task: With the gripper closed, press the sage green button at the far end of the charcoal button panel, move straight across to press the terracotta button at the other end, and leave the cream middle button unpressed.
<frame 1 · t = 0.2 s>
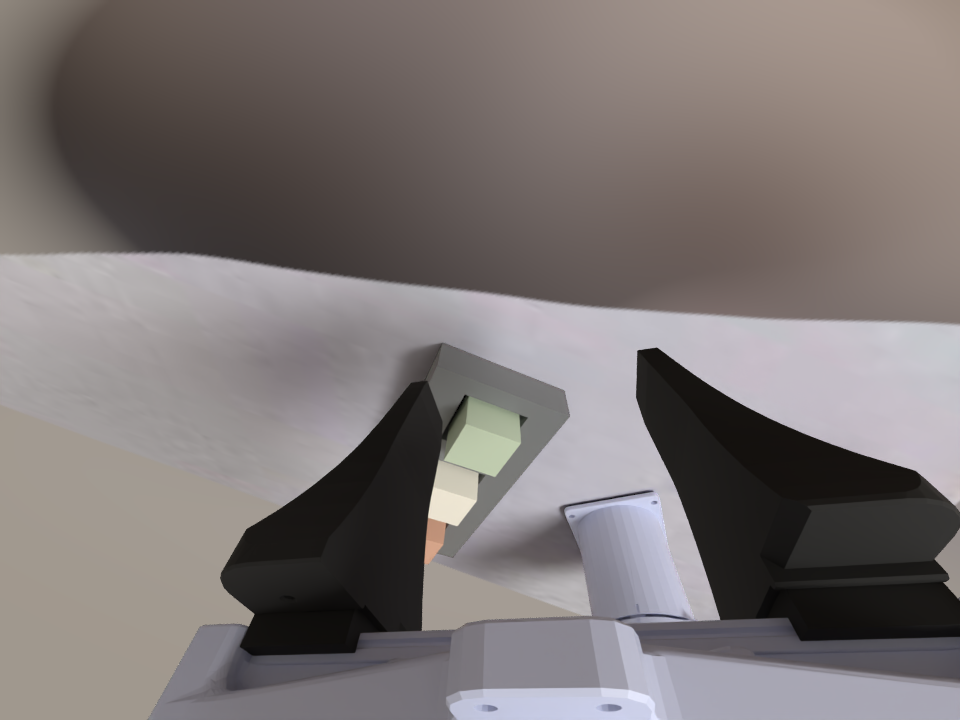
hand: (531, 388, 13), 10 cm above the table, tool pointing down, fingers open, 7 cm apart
cream button: (446, 488, 28), point 3 cm above the table, slide at 0.0 cm
terracotta button: (417, 531, 32), point 3 cm above the table, slide at 0.0 cm
button panel: (450, 457, 31), on the table
sage button: (482, 434, 25), point 3 cm above the table, slide at 0.0 cm
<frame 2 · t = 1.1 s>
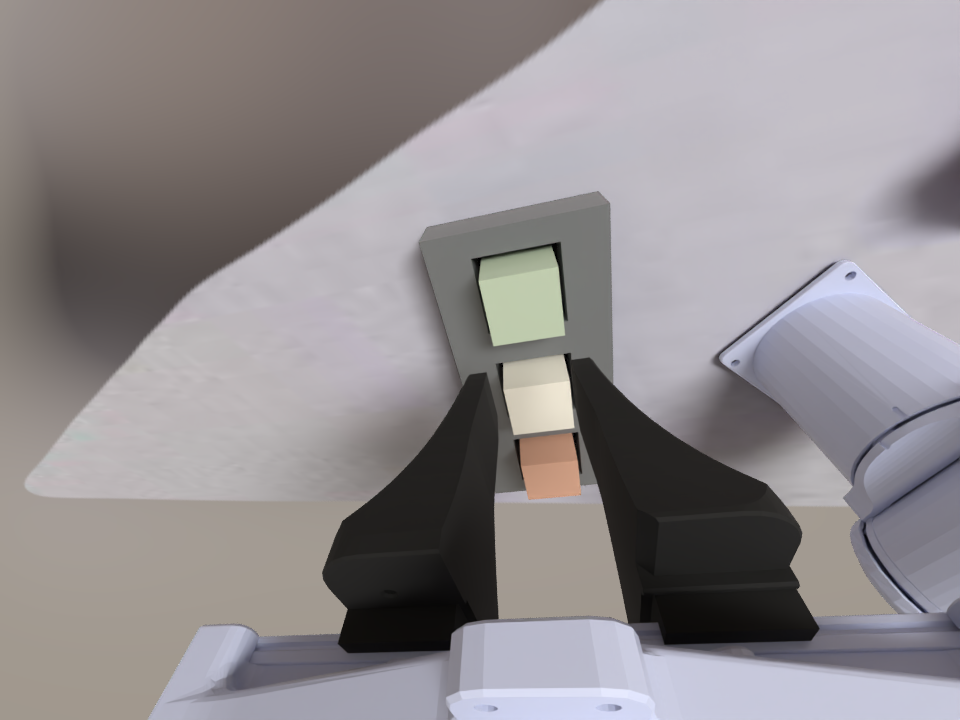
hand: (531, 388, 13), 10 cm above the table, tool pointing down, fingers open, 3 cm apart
cream button: (538, 392, 23), point 3 cm above the table, slide at 0.0 cm
terracotta button: (549, 463, 27), point 3 cm above the table, slide at 0.0 cm
button panel: (534, 363, 25), on the table
sage button: (522, 295, 19), point 3 cm above the table, slide at 0.0 cm
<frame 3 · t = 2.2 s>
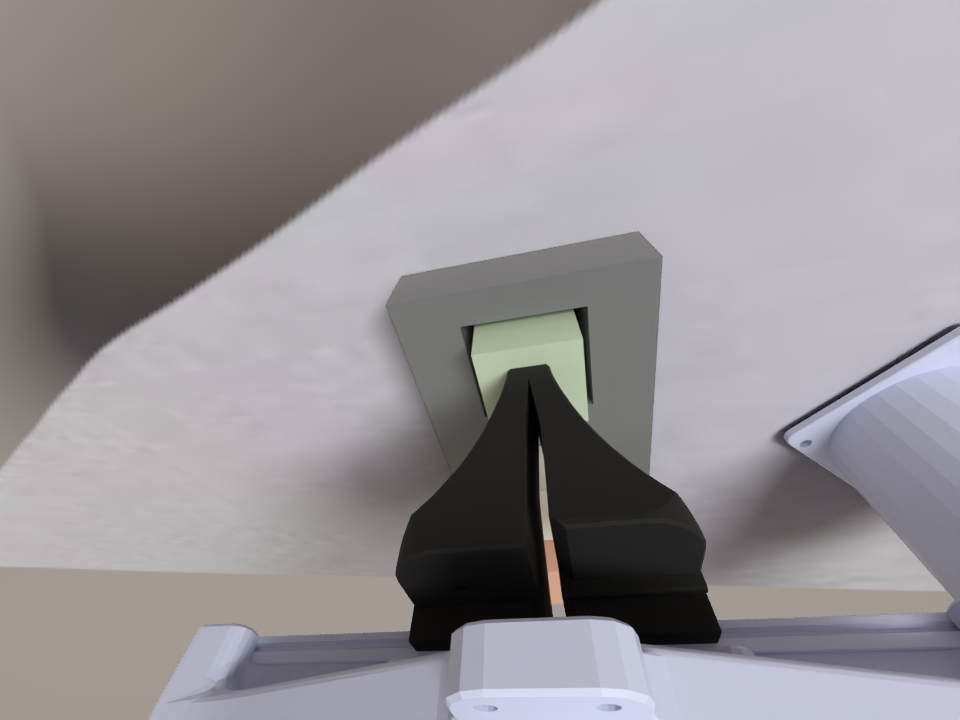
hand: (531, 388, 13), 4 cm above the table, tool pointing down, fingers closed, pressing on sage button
cream button: (550, 486, 17), point 3 cm above the table, slide at 0.0 cm
terracotta button: (562, 559, 21), point 3 cm above the table, slide at 0.0 cm
button panel: (544, 437, 20), on the table
sage button: (530, 364, 14), point 2 cm above the table, slide at 0.7 cm, touching gripper
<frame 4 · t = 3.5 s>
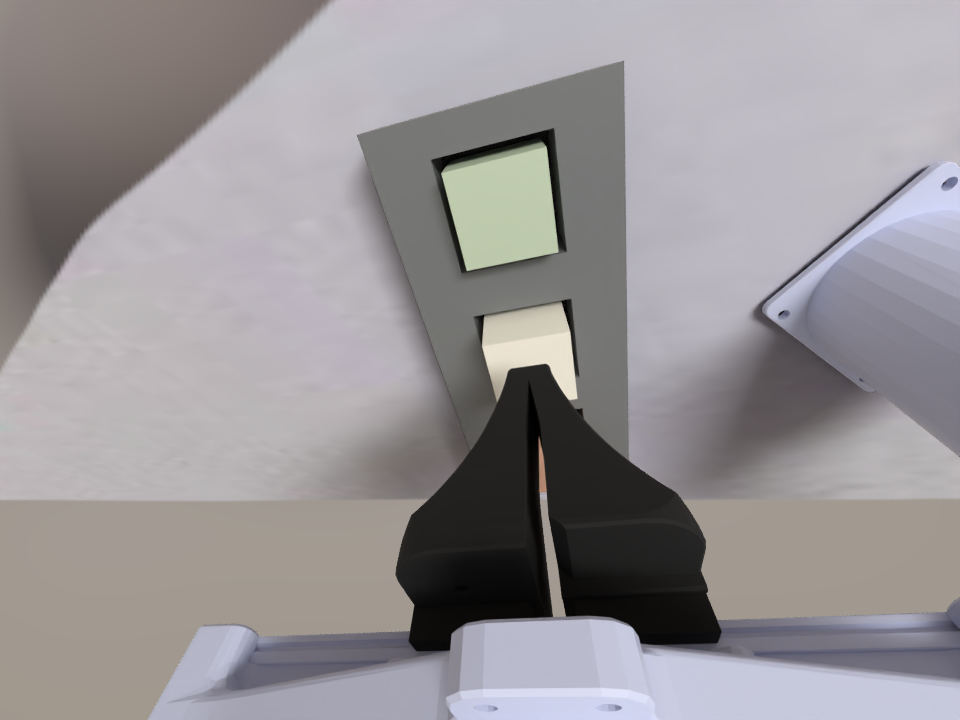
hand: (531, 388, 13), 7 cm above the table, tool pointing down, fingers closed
cream button: (529, 354, 18), point 3 cm above the table, slide at 0.0 cm
terracotta button: (547, 448, 21), point 3 cm above the table, slide at 0.0 cm
button panel: (526, 322, 20), on the table
sage button: (502, 204, 15), point 2 cm above the table, slide at 1.1 cm
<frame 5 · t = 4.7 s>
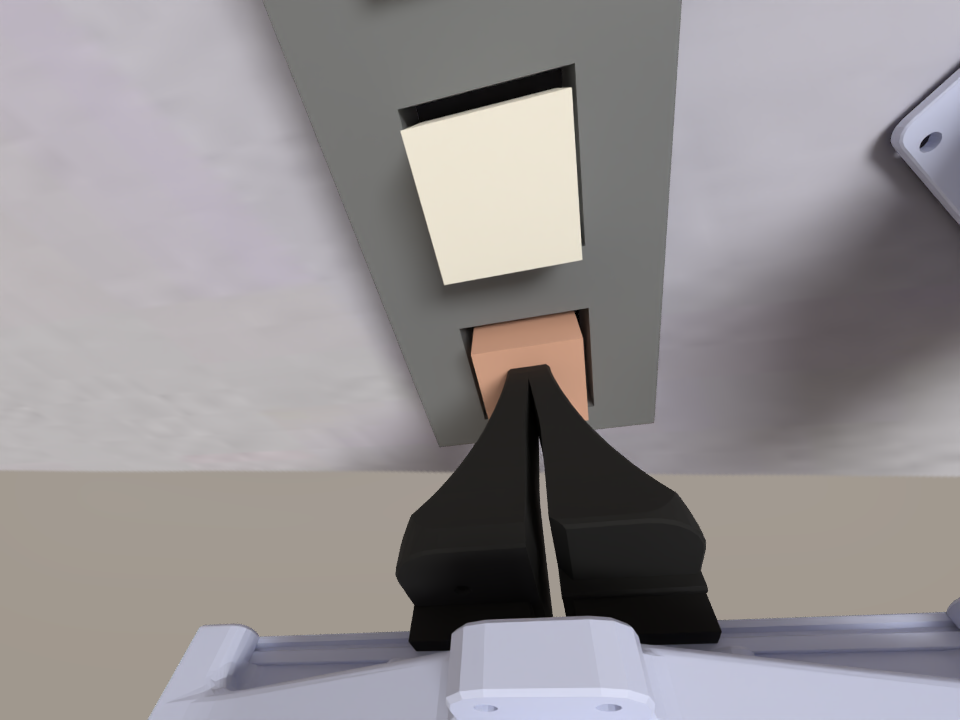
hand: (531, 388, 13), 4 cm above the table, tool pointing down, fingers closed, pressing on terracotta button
cream button: (499, 187, 10), point 3 cm above the table, slide at 0.0 cm
terracotta button: (530, 363, 14), point 2 cm above the table, slide at 0.9 cm, touching gripper
button panel: (499, 168, 12), on the table
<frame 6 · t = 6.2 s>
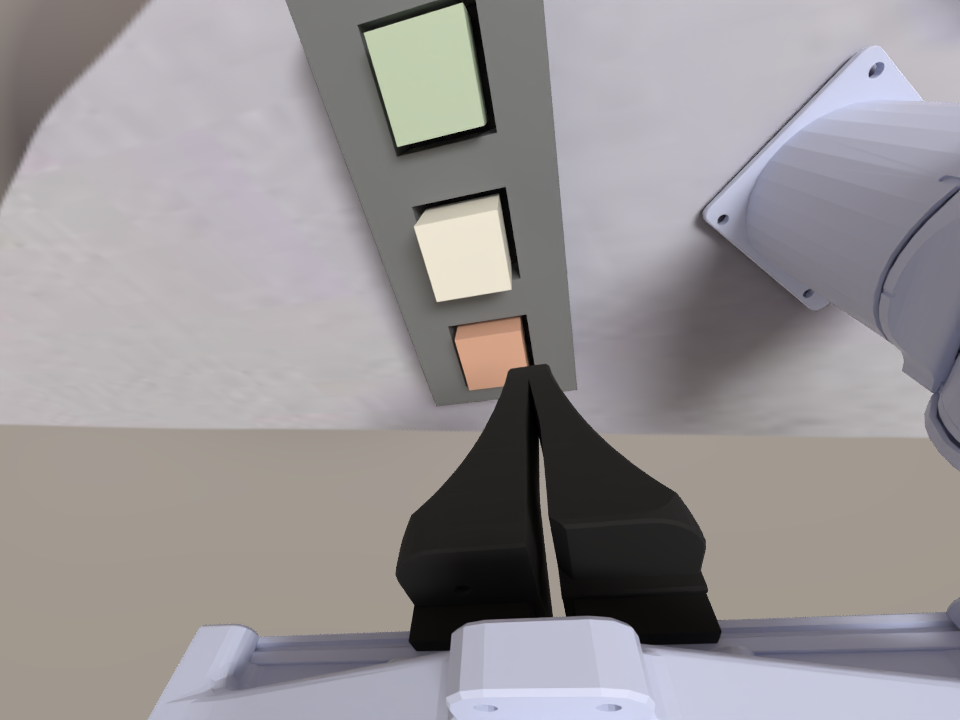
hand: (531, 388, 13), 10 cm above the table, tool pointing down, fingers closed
cream button: (467, 247, 18), point 3 cm above the table, slide at 0.0 cm
terracotta button: (494, 347, 23), point 2 cm above the table, slide at 1.1 cm
button panel: (472, 228, 20), on the table
sage button: (433, 81, 15), point 2 cm above the table, slide at 1.1 cm
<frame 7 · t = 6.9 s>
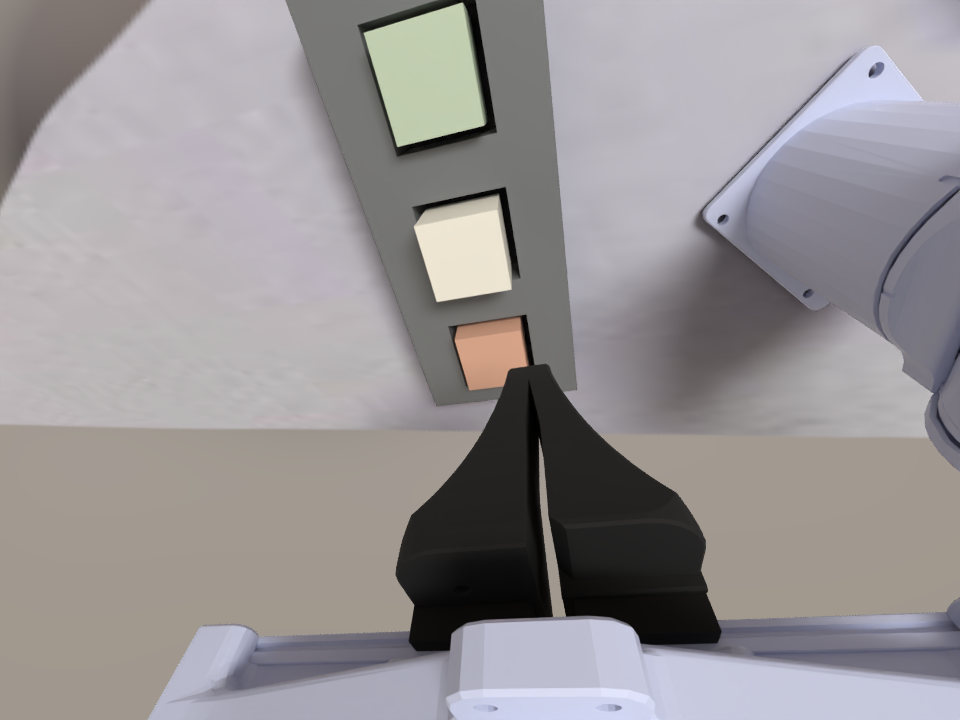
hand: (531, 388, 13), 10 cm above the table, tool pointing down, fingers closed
cream button: (467, 247, 18), point 3 cm above the table, slide at 0.0 cm
terracotta button: (494, 347, 23), point 2 cm above the table, slide at 1.1 cm
button panel: (472, 228, 20), on the table
sage button: (433, 81, 15), point 2 cm above the table, slide at 1.1 cm
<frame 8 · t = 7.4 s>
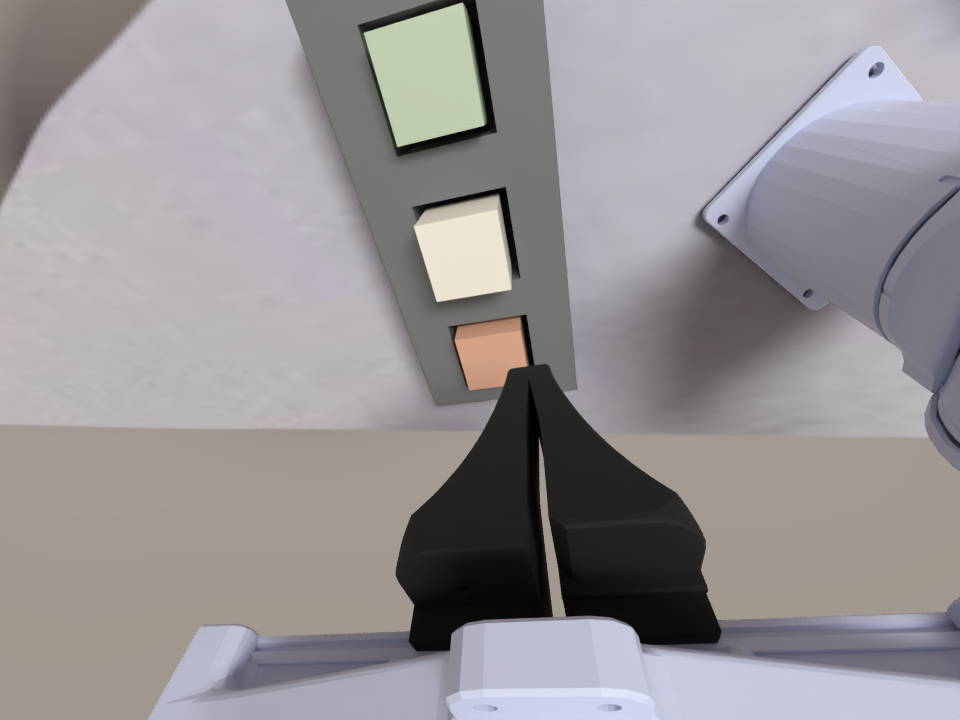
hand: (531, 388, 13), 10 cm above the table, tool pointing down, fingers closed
cream button: (467, 247, 18), point 3 cm above the table, slide at 0.0 cm
terracotta button: (494, 347, 23), point 2 cm above the table, slide at 1.1 cm
button panel: (472, 228, 20), on the table
sage button: (433, 81, 15), point 2 cm above the table, slide at 1.1 cm
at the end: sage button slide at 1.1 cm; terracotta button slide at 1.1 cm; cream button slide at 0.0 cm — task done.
